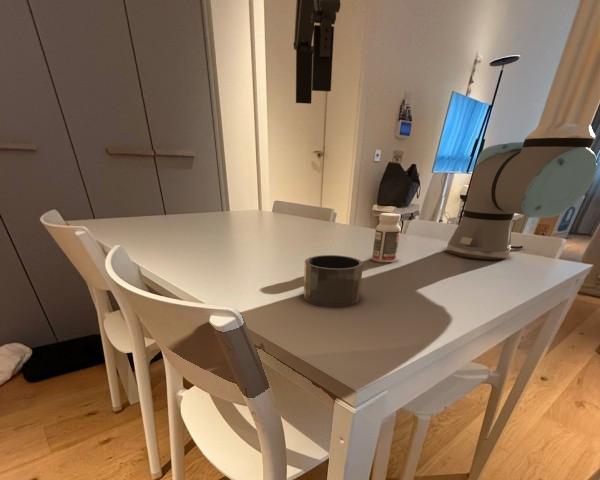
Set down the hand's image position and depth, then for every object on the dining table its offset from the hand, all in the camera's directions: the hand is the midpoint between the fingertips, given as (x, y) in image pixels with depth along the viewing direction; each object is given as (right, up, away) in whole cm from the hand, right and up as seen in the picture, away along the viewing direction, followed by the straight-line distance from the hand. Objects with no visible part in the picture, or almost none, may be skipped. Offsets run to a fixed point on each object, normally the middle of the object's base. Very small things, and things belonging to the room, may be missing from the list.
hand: (311, 97), depth 55 cm
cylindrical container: (+4, -32, +4) cm, 32 cm away
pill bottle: (+19, -16, +27) cm, 36 cm away
